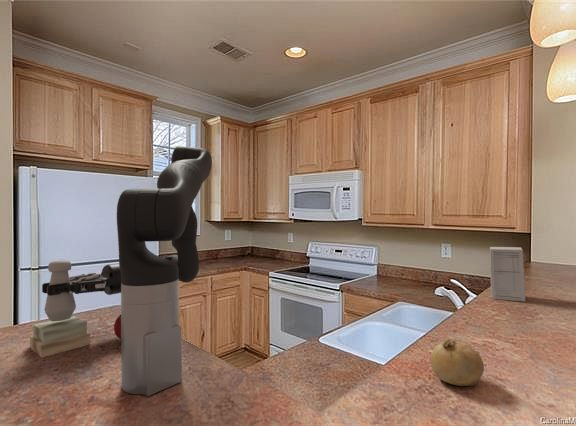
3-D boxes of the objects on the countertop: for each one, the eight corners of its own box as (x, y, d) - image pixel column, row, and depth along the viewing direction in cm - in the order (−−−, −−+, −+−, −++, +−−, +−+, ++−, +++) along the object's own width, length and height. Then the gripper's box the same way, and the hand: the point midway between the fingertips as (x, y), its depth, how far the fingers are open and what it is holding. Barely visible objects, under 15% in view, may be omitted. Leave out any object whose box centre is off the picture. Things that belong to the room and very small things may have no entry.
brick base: (90, 344, 74) (90, 322, 74) (41, 357, 67) (41, 333, 67) (75, 335, 80) (75, 315, 80) (29, 347, 73) (30, 324, 73)
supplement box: (523, 296, 112) (522, 247, 112) (526, 302, 104) (524, 249, 104) (490, 293, 117) (489, 246, 117) (490, 298, 109) (489, 248, 109)
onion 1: (130, 347, 71) (130, 311, 72) (107, 346, 73) (107, 309, 73) (147, 338, 77) (147, 304, 77) (126, 336, 78) (125, 303, 79)
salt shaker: (49, 324, 69) (48, 263, 70) (40, 319, 73) (39, 261, 73) (80, 317, 74) (79, 260, 74) (70, 313, 78) (69, 258, 78)
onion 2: (438, 366, 60) (437, 327, 61) (488, 378, 55) (487, 336, 56) (425, 383, 54) (423, 340, 54) (479, 399, 49) (478, 351, 49)
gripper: (113, 260, 89) (35, 269, 76) (138, 264, 80) (54, 275, 67) (114, 288, 89) (36, 302, 76) (138, 295, 80) (55, 312, 67)
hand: (45, 289), depth 71 cm, fingers closed on salt shaker, 3 cm apart
